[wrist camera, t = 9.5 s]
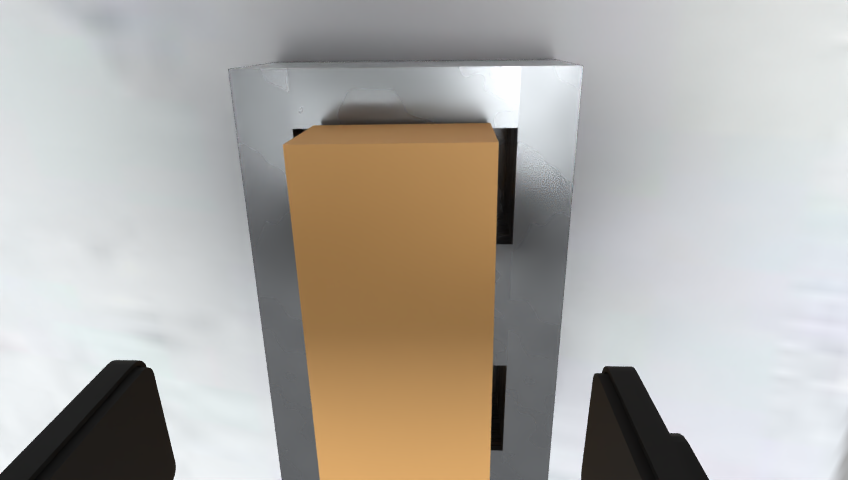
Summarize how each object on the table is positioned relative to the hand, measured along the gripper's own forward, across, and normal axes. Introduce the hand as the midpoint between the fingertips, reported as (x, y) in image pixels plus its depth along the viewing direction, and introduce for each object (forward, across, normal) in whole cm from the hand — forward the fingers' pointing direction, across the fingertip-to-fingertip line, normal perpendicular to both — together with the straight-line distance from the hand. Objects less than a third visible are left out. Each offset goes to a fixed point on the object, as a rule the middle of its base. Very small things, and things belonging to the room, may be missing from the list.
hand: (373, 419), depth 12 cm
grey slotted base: (+11, 0, +1) cm, 11 cm away
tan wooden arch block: (+10, 0, +1) cm, 10 cm away
